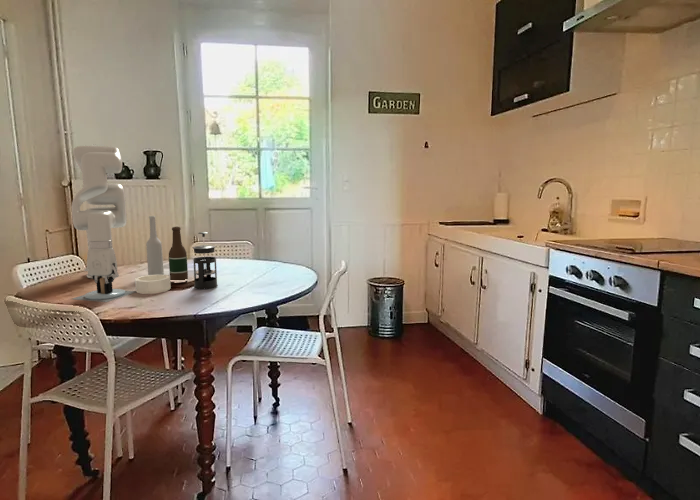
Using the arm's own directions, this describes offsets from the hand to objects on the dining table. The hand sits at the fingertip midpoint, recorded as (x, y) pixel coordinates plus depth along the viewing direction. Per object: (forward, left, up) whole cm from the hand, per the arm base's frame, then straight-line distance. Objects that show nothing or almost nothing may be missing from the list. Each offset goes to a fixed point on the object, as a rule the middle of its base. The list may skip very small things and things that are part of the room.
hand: (105, 292), depth 172 cm
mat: (0, 0, -2) cm, 2 cm away
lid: (0, 0, -1) cm, 1 cm away
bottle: (-4, +34, -2) cm, 34 cm away
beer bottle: (+11, +30, -2) cm, 32 cm away
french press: (+28, +24, -2) cm, 37 cm away
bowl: (+12, +12, -2) cm, 17 cm away
